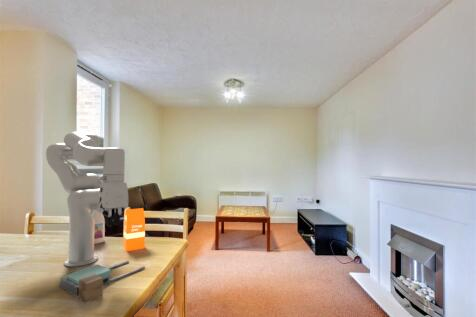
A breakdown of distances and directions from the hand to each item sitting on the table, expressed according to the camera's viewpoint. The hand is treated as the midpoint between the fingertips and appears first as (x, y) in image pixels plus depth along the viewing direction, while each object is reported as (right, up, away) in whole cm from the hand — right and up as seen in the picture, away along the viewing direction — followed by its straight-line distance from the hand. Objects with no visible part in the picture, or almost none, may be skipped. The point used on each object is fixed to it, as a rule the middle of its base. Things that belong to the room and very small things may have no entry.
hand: (112, 225), depth 97 cm
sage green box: (-5, -19, -8) cm, 21 cm away
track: (-1, -19, -2) cm, 19 cm away
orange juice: (-5, -20, +31) cm, 37 cm away
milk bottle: (-29, -20, +39) cm, 53 cm away
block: (+1, -19, -17) cm, 25 cm away
